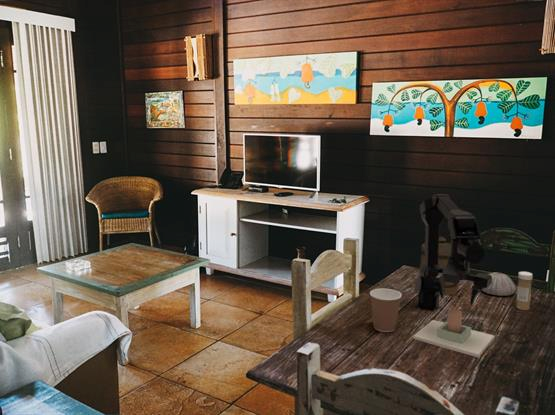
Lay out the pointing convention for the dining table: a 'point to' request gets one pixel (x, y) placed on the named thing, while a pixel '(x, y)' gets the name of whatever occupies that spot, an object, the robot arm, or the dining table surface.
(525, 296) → the sprinkles bottle
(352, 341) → the dining table surface
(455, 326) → the terracotta peg
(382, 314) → the coffee cup
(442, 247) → the wooden container
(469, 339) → the socket board
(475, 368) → the dining table surface
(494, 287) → the sea urchin shell
